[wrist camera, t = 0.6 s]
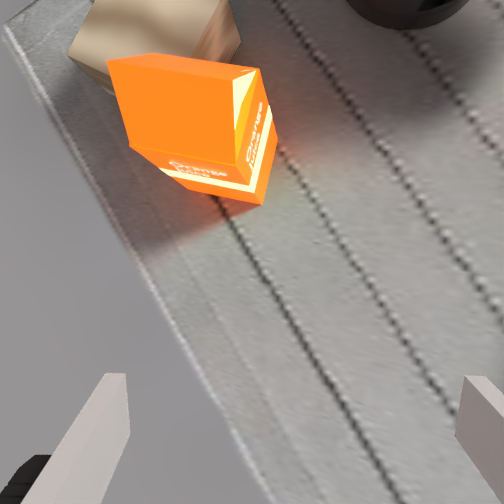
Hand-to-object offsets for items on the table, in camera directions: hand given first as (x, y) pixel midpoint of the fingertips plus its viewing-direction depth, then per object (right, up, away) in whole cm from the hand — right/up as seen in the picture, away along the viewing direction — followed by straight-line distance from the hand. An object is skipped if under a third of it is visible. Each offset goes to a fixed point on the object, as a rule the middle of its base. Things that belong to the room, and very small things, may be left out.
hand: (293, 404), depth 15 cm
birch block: (-11, +28, +31) cm, 43 cm away
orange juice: (-4, +16, +29) cm, 33 cm away
